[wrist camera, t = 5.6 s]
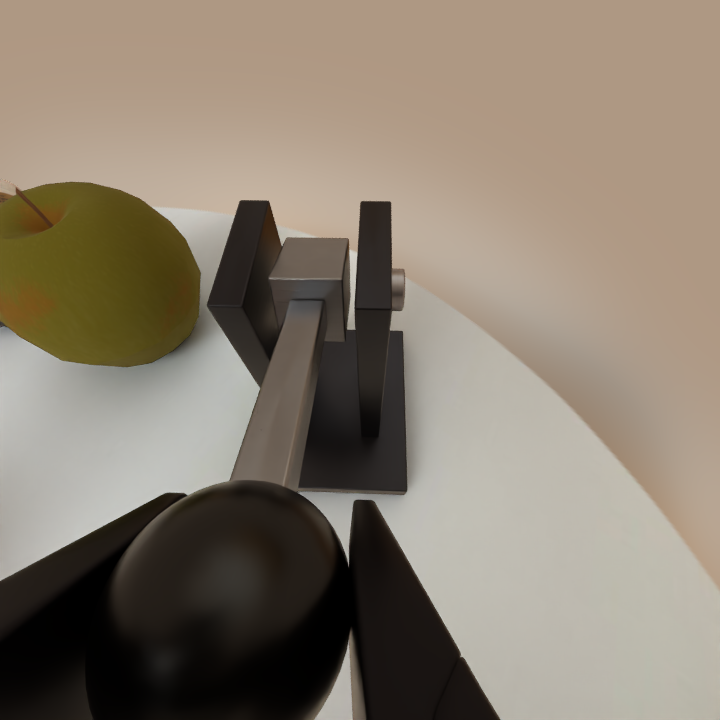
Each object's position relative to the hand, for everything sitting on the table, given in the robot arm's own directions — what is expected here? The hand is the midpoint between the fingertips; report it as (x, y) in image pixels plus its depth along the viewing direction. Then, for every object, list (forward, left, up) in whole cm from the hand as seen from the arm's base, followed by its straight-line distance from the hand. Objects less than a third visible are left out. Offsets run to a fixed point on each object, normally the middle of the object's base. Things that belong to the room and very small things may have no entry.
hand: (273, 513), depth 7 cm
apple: (+18, +4, -12) cm, 22 cm away
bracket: (+6, -4, -12) cm, 14 cm away
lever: (+2, -1, -2) cm, 3 cm away
